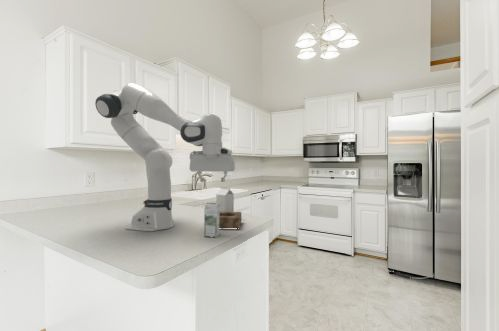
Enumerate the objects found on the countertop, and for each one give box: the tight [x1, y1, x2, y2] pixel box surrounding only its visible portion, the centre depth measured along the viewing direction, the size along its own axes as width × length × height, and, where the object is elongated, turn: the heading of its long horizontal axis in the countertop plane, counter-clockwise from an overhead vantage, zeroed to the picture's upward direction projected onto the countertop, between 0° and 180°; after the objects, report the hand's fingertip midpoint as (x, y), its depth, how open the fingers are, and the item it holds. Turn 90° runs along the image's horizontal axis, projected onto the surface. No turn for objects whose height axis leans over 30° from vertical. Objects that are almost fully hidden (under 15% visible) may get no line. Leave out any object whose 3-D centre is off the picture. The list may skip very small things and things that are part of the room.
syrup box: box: [203, 202, 220, 237], centre depth 107 cm, size 6×6×14 cm
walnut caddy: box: [219, 211, 242, 229], centre depth 124 cm, size 14×14×6 cm
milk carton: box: [215, 186, 235, 212], centre depth 137 cm, size 7×7×19 cm
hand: (212, 181), depth 107 cm, fingers open, 8 cm apart
